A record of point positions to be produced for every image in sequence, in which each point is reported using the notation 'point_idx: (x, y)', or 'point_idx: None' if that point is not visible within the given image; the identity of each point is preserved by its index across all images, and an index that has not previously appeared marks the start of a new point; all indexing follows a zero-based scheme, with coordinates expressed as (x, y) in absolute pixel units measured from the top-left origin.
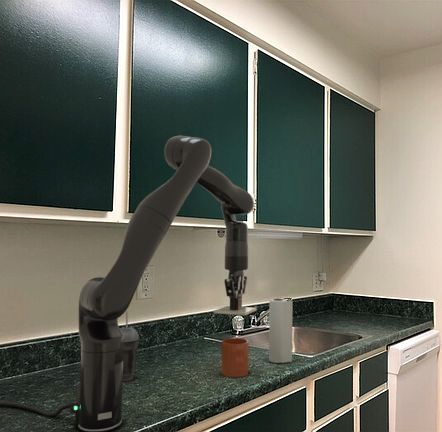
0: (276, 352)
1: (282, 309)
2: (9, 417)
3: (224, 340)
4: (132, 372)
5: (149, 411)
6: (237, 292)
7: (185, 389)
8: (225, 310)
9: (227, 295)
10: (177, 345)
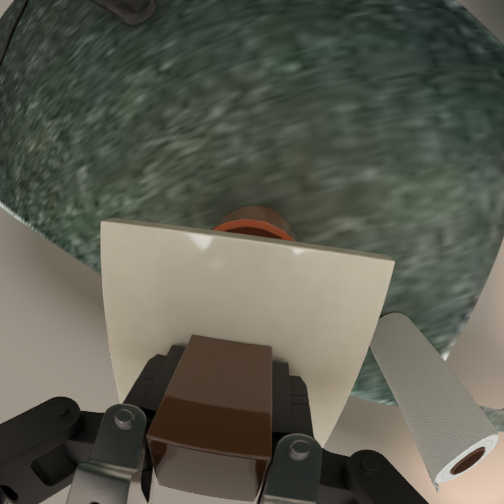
0: (377, 351)
1: (424, 459)
2: (4, 30)
3: (256, 227)
4: (124, 19)
5: (13, 166)
6: (146, 493)
7: (96, 166)
8: (136, 311)
9: (54, 404)
10: (463, 31)
